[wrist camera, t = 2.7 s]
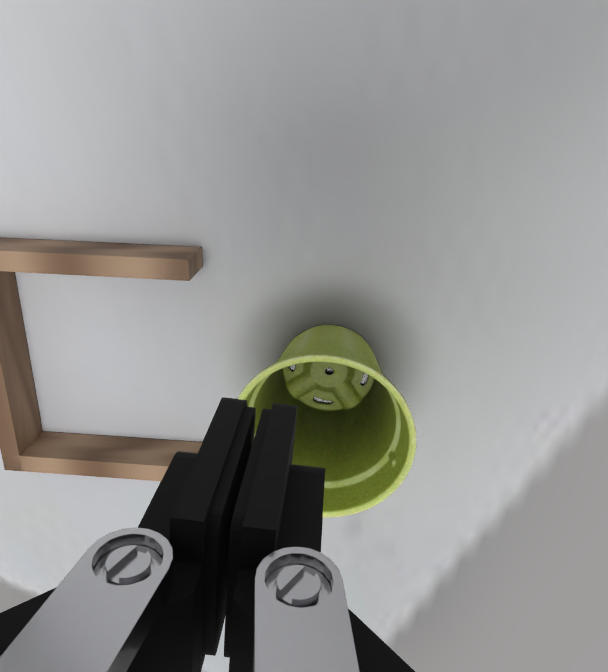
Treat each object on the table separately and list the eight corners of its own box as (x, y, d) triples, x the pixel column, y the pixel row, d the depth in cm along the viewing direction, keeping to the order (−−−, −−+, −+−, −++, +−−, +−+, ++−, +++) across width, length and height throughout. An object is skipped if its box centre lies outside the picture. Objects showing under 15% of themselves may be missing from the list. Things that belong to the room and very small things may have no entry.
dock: (201, 247, 33) (188, 259, 31) (210, 457, 39) (199, 484, 36) (-11, 236, 34) (-43, 248, 31) (28, 444, 40) (4, 469, 37)
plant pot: (248, 418, 38) (221, 502, 30) (264, 286, 34) (238, 341, 26) (385, 440, 37) (394, 531, 29) (416, 311, 34) (436, 374, 26)
